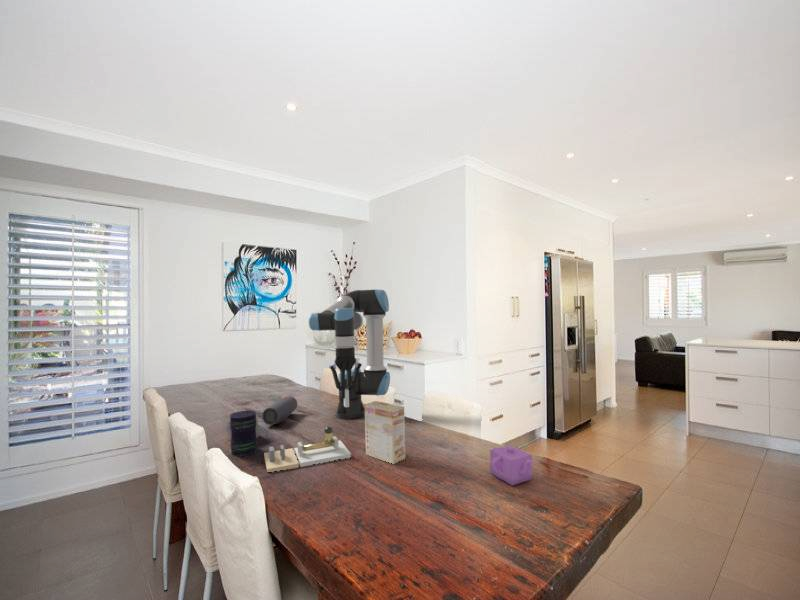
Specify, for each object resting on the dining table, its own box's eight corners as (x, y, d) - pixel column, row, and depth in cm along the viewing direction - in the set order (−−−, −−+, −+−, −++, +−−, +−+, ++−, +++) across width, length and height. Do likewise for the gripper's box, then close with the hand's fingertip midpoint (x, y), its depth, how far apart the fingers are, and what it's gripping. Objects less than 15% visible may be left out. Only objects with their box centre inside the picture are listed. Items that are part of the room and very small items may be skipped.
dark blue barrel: (248, 456, 152) (246, 418, 152) (225, 455, 154) (224, 417, 154) (262, 447, 162) (261, 410, 162) (240, 445, 164) (239, 410, 164)
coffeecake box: (406, 458, 146) (404, 406, 146) (393, 465, 141) (391, 410, 141) (378, 449, 156) (377, 400, 156) (365, 454, 151) (363, 404, 151)
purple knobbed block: (549, 486, 122) (548, 453, 122) (515, 497, 116) (514, 463, 116) (508, 465, 138) (507, 436, 138) (476, 474, 132) (476, 444, 132)
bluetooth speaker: (282, 413, 210) (281, 394, 210) (298, 413, 209) (298, 395, 209) (261, 427, 187) (260, 406, 187) (279, 427, 186) (279, 406, 186)
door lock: (340, 443, 163) (340, 430, 163) (350, 457, 148) (350, 443, 148) (264, 456, 151) (263, 442, 151) (267, 473, 137) (267, 457, 137)
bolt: (336, 444, 156) (336, 424, 156) (338, 446, 153) (338, 426, 153) (298, 450, 150) (297, 430, 150) (299, 453, 147) (299, 432, 147)
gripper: (358, 344, 162) (359, 402, 162) (326, 347, 157) (328, 406, 157) (363, 346, 155) (365, 406, 155) (330, 348, 150) (332, 410, 150)
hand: (346, 406), depth 156 cm, fingers closed
